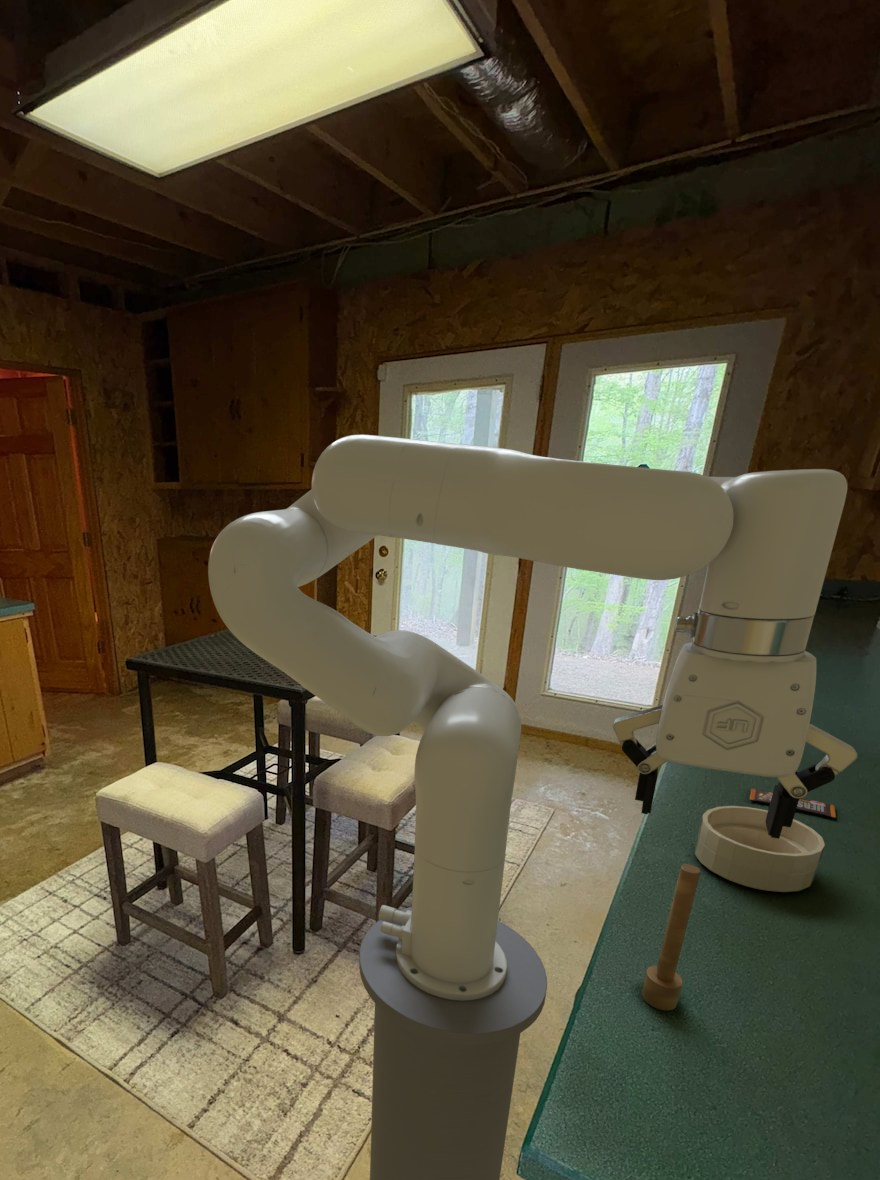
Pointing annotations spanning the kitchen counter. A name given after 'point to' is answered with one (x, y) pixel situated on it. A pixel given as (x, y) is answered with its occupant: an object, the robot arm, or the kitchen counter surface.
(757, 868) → the bowl
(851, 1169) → the kitchen counter surface
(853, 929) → the kitchen counter surface
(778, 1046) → the kitchen counter surface
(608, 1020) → the kitchen counter surface
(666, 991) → the stick
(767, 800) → the chocolate bar
